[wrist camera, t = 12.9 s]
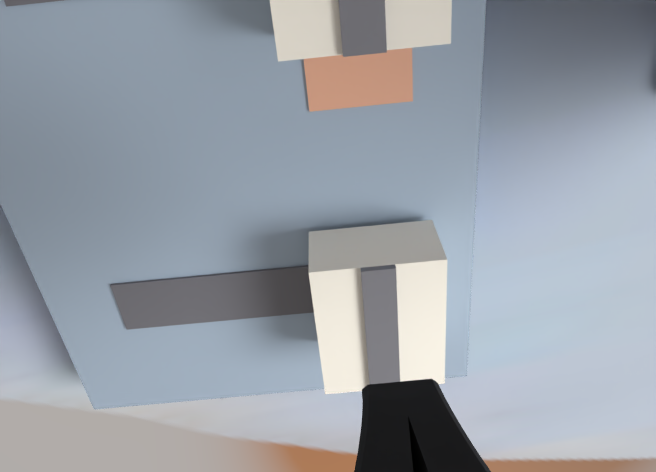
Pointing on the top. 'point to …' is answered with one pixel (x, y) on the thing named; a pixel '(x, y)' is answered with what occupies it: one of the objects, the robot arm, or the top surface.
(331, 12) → the knob
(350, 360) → the knob
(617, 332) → the top surface
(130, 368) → the switch unit
